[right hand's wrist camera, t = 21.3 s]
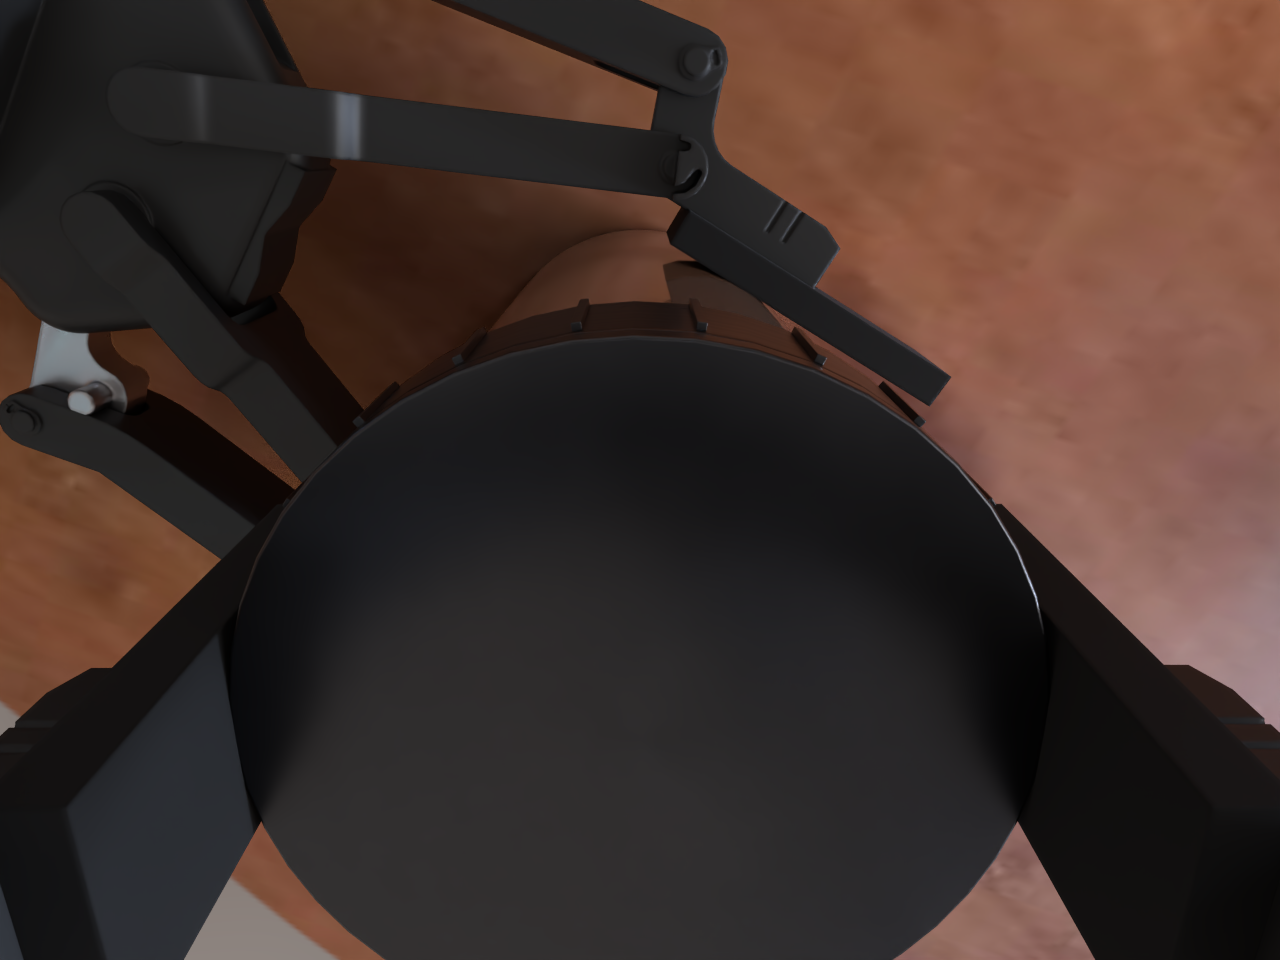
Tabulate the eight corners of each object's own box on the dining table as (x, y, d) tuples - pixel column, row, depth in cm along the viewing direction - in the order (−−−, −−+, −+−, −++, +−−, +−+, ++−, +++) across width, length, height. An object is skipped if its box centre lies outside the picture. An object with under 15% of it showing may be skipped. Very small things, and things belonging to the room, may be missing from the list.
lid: (1031, 836, 13) (1100, 957, 11) (432, 966, 14) (399, 1099, 12) (926, 199, 10) (995, 212, 8) (170, 414, 11) (68, 473, 9)
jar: (709, 176, 25) (827, 225, 9) (823, 436, 27) (1067, 821, 12) (446, 310, 26) (156, 555, 10) (579, 547, 28) (506, 1027, 13)
